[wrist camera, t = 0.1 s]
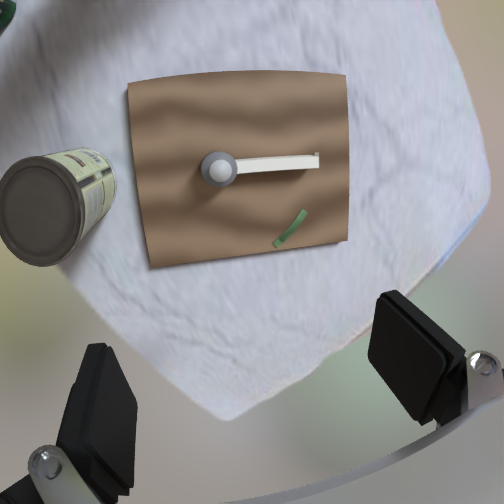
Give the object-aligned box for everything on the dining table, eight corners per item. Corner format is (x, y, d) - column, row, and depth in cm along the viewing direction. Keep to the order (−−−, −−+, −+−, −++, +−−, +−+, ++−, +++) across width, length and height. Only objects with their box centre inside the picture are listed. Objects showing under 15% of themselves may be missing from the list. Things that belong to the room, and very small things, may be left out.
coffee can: (48, 221, 35) (-2, 261, 22) (51, 146, 31) (-7, 156, 18) (115, 227, 37) (83, 273, 24) (121, 149, 34) (86, 158, 21)
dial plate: (129, 85, 31) (127, 82, 29) (340, 76, 35) (346, 74, 34) (152, 263, 40) (151, 268, 39) (342, 237, 45) (348, 241, 43)
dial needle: (199, 152, 34) (200, 154, 30) (309, 145, 37) (323, 146, 33) (202, 184, 36) (203, 191, 32) (310, 175, 38) (324, 180, 34)
